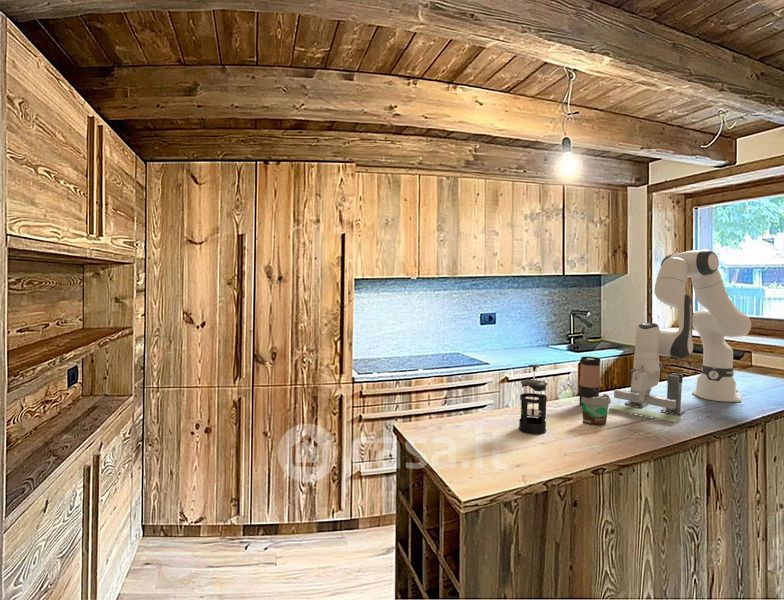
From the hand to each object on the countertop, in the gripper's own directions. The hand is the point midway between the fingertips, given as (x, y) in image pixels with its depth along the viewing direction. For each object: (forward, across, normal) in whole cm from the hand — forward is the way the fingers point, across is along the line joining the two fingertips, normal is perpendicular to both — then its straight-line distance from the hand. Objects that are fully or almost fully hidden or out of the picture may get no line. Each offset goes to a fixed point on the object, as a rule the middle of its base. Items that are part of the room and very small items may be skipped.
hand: (644, 399), depth 202 cm
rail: (+1, 0, 0) cm, 1 cm away
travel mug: (+6, -5, +20) cm, 21 cm away
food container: (+6, -26, +7) cm, 27 cm away
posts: (+6, +12, 0) cm, 13 cm away
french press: (+6, -50, +20) cm, 54 cm away
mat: (+6, 0, 0) cm, 6 cm away
